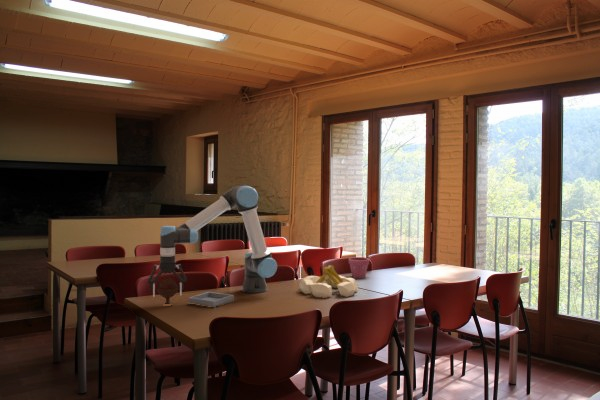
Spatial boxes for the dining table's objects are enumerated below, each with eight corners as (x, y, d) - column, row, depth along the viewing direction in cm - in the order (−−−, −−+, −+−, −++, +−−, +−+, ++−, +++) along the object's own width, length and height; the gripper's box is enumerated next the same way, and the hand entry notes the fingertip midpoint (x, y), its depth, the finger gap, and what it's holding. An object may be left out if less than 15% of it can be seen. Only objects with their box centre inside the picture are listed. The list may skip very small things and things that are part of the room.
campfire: (309, 300, 275) (309, 269, 275) (292, 288, 308) (293, 260, 307) (367, 296, 285) (367, 267, 284) (345, 285, 317) (345, 258, 317)
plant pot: (358, 274, 355) (358, 256, 354) (373, 277, 344) (373, 258, 344) (344, 276, 346) (344, 258, 345) (359, 279, 335) (359, 260, 334)
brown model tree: (180, 302, 266) (180, 275, 265) (175, 307, 254) (175, 278, 254) (160, 302, 265) (160, 275, 265) (154, 308, 254) (154, 278, 254)
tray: (233, 301, 269) (233, 295, 269) (213, 308, 254) (213, 301, 254) (209, 297, 278) (209, 291, 277) (188, 304, 263) (188, 297, 263)
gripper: (142, 257, 252) (142, 298, 253) (192, 255, 259) (192, 296, 259) (142, 255, 259) (142, 295, 260) (191, 253, 266) (191, 293, 267)
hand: (167, 295), depth 260 cm, fingers open, 13 cm apart
